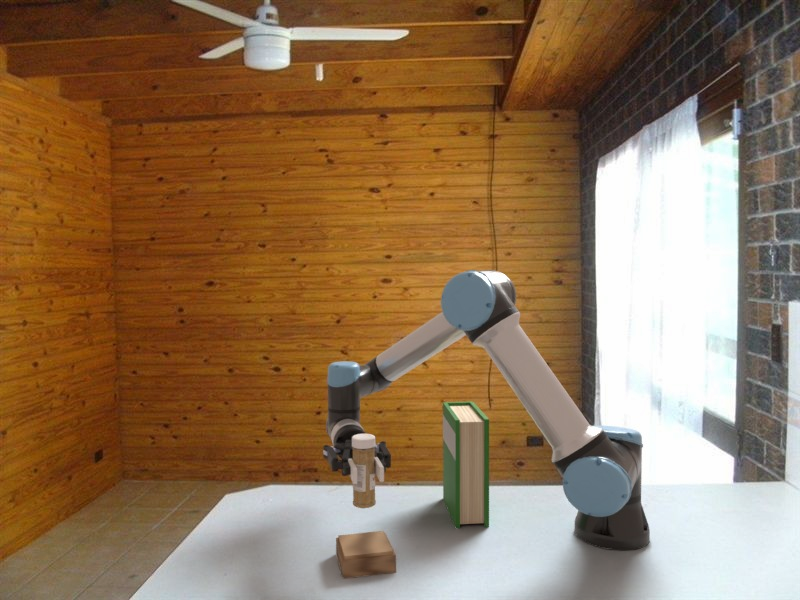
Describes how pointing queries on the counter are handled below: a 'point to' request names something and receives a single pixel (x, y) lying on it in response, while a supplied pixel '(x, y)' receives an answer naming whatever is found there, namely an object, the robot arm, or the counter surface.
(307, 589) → the counter surface
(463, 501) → the hardback book
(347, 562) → the walnut base
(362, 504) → the sprinkles bottle
